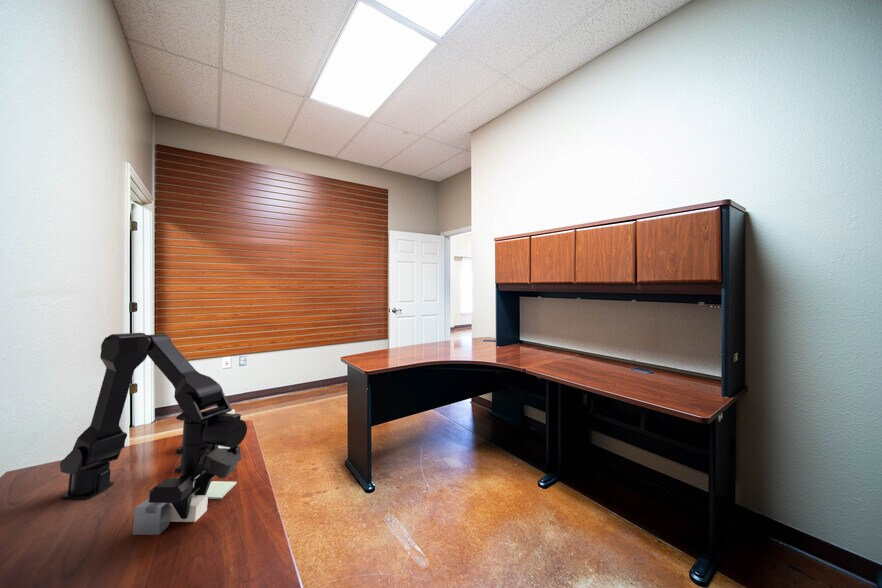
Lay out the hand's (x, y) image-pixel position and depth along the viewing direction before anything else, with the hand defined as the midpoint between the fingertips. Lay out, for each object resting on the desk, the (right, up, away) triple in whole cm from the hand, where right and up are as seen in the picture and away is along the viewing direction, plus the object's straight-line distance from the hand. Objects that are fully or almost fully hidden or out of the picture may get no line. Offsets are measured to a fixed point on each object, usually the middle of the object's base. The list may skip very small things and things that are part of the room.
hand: (192, 511), depth 73 cm
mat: (-2, -1, +10) cm, 10 cm away
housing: (-4, -1, 0) cm, 5 cm away
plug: (-3, -1, 0) cm, 3 cm away
